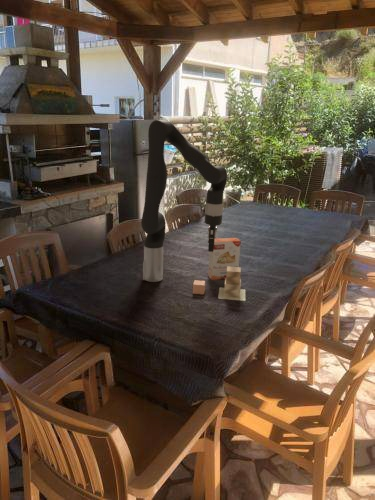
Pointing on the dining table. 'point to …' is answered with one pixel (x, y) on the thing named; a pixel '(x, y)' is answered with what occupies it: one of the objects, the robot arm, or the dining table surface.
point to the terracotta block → (198, 287)
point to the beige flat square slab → (221, 295)
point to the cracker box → (223, 257)
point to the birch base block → (232, 290)
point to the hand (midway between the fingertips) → (211, 248)
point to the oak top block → (233, 275)
